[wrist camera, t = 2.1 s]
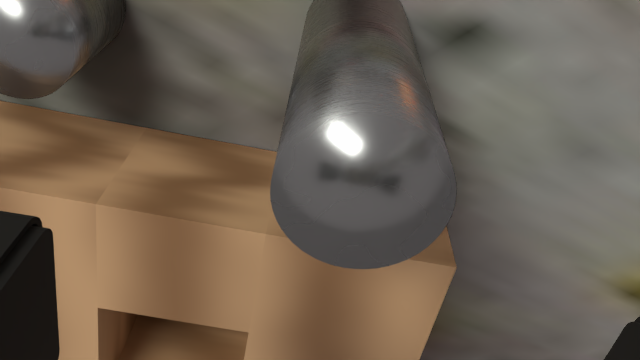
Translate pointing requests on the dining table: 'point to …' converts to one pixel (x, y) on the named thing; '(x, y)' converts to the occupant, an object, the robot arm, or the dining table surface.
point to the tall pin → (361, 141)
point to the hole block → (196, 252)
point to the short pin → (52, 41)
